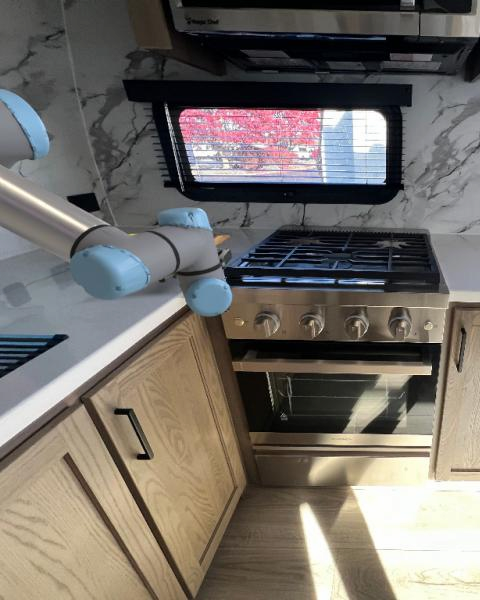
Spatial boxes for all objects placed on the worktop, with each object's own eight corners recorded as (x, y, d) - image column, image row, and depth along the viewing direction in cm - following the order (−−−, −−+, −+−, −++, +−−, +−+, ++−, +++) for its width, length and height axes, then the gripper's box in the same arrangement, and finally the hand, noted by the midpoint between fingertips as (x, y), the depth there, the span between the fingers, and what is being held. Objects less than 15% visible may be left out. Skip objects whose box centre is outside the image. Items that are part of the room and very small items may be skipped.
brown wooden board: (147, 262, 102) (145, 256, 101) (193, 238, 127) (191, 233, 126) (193, 261, 103) (191, 254, 102) (230, 237, 128) (228, 232, 127)
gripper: (132, 309, 66) (129, 278, 81) (259, 278, 80) (236, 257, 95) (118, 274, 63) (117, 249, 78) (252, 248, 77) (230, 231, 92)
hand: (182, 253), depth 87 cm, fingers open, 13 cm apart
